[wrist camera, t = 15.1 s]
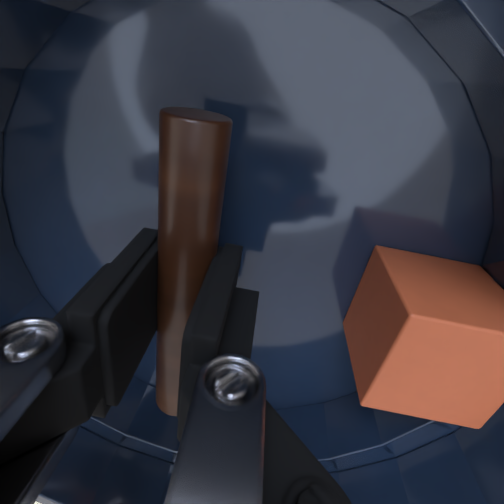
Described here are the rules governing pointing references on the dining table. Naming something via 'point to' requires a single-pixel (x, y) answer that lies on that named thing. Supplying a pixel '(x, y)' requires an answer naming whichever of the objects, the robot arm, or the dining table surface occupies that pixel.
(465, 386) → the block
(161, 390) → the stick
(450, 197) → the bowl
